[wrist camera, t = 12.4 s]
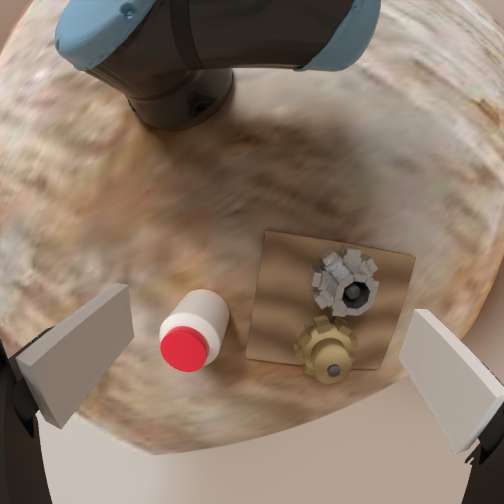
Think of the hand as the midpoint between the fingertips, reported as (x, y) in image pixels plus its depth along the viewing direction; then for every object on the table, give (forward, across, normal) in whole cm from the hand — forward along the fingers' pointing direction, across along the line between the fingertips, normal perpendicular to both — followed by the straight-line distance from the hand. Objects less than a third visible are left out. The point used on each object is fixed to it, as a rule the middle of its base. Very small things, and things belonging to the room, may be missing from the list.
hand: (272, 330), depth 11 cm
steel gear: (+24, +10, -5) cm, 26 cm away
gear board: (+25, +10, -10) cm, 29 cm away
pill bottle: (+25, -9, -13) cm, 30 cm away
